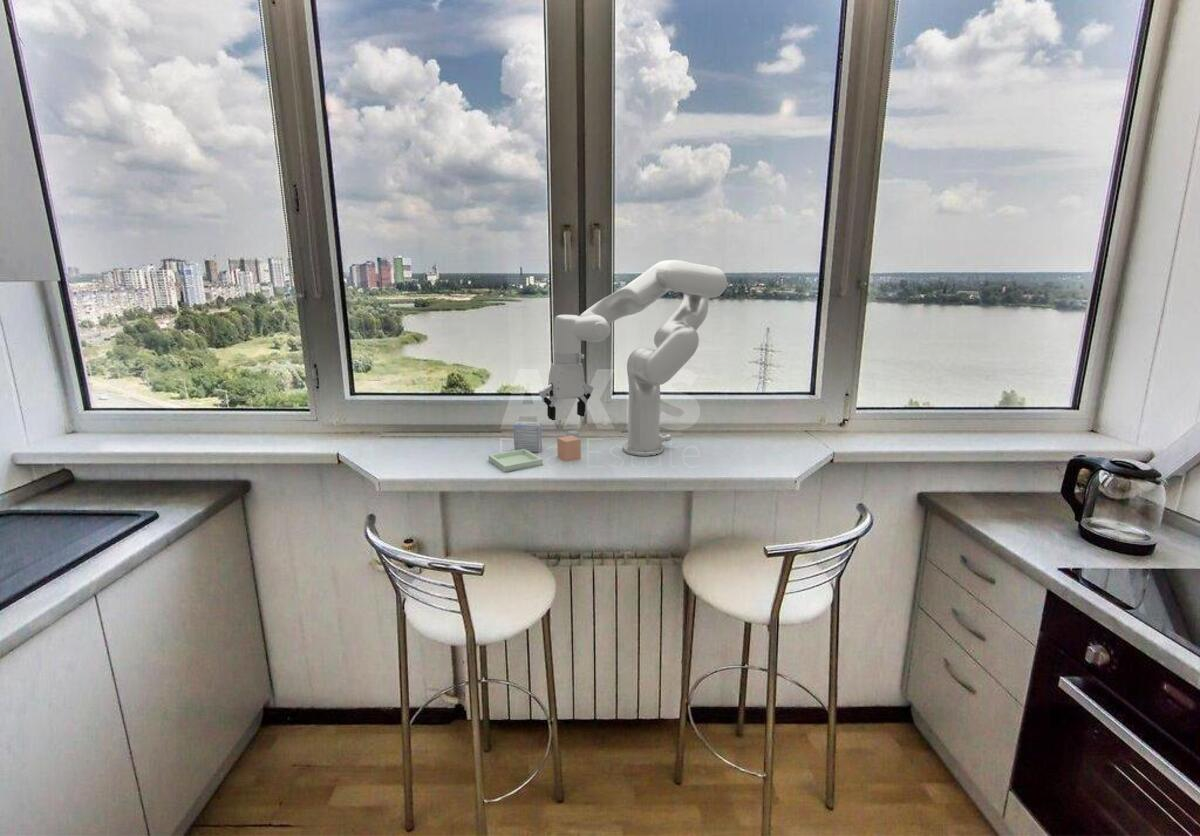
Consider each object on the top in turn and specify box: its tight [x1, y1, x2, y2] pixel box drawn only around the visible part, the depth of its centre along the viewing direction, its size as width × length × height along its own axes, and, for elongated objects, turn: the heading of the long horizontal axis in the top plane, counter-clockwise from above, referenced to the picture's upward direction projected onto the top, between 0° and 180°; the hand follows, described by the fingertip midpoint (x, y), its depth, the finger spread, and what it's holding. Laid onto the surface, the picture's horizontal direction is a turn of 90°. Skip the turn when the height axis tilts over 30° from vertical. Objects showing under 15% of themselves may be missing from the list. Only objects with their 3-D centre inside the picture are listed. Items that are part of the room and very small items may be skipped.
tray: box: [488, 449, 544, 473], centre depth 162 cm, size 12×12×2 cm
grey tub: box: [565, 430, 580, 439], centre depth 176 cm, size 4×4×5 cm
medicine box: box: [513, 421, 543, 453], centre depth 173 cm, size 8×4×9 cm, turn 84°
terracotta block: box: [556, 435, 582, 462], centre depth 166 cm, size 5×5×6 cm
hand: (566, 417), depth 164 cm, fingers open, 9 cm apart
